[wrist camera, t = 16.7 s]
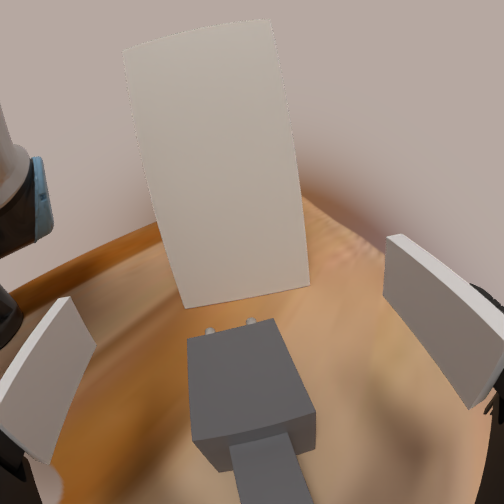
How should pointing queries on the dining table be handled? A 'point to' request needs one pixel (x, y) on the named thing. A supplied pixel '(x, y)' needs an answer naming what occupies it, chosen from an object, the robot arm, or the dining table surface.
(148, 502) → the dining table surface
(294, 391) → the plug
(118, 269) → the dining table surface
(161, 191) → the pillar
